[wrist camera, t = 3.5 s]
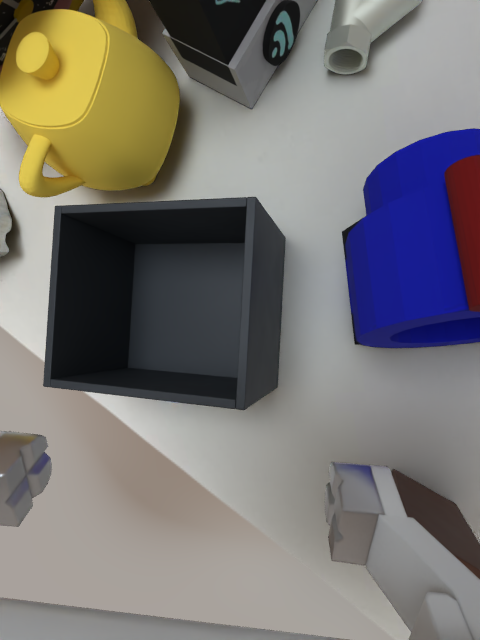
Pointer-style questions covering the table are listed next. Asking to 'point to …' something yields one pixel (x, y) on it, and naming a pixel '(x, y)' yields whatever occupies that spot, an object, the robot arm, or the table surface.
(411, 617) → the robot arm
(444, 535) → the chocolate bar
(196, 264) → the trash bin
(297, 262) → the table surface
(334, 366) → the table surface
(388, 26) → the pipe fitting
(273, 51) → the decorative object
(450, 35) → the table surface
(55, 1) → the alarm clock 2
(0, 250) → the rock
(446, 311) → the alarm clock
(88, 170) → the teapot
